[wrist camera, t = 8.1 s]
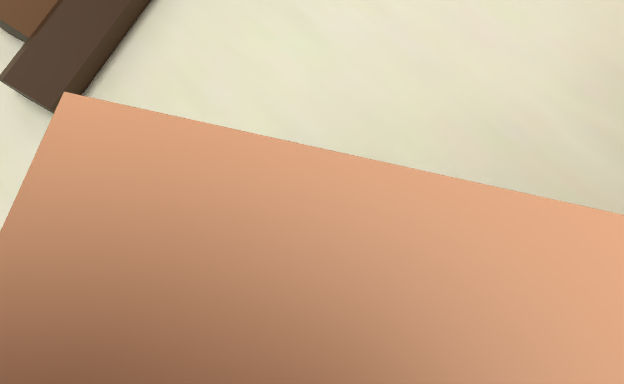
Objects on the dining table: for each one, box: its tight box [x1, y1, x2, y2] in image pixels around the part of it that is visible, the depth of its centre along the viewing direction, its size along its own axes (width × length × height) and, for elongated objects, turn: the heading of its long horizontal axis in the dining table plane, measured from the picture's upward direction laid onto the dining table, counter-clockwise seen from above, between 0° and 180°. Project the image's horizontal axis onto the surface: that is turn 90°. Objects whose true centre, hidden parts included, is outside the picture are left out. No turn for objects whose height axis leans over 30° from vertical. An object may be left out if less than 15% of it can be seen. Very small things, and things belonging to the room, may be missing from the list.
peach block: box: [0, 92, 624, 384], centre depth 9 cm, size 4×6×13 cm
